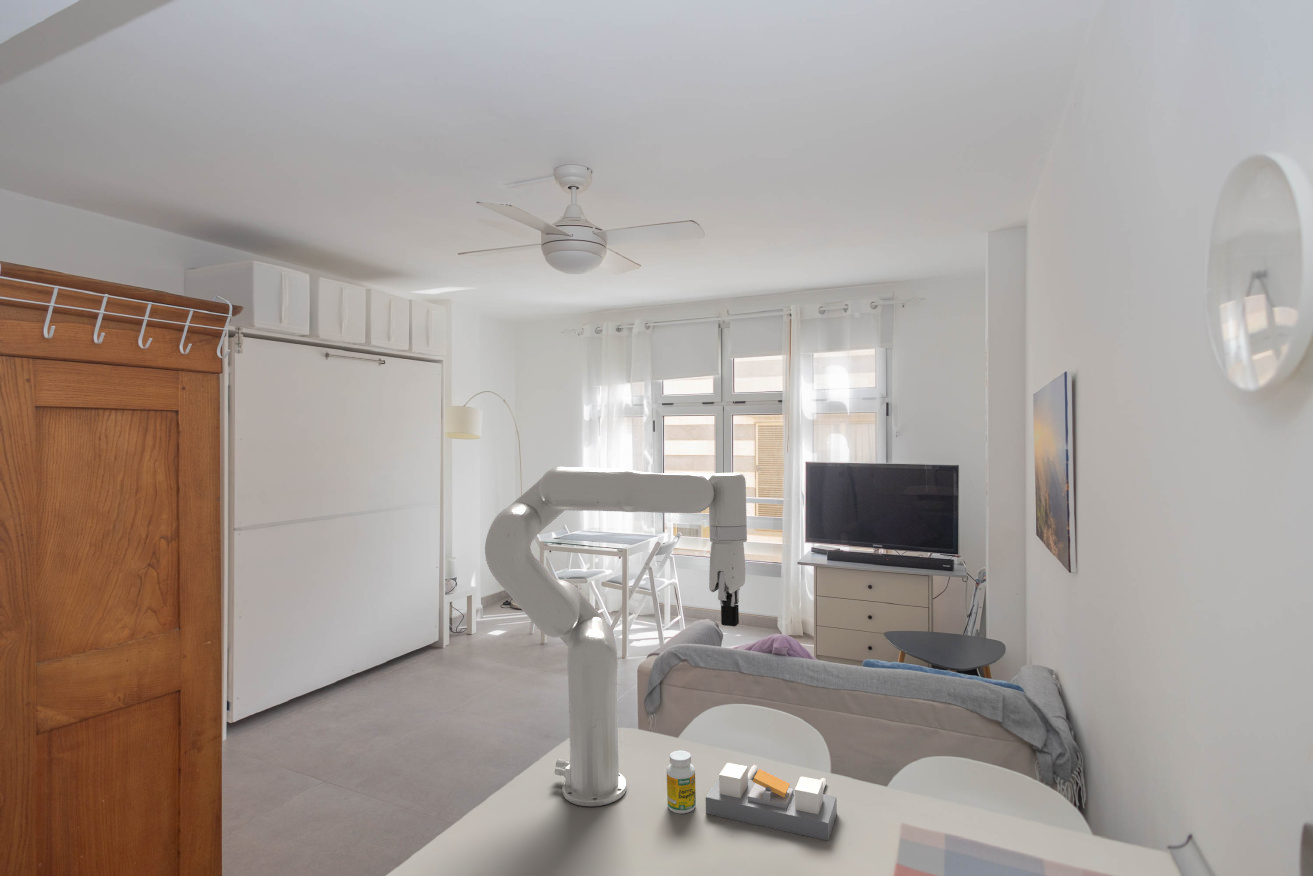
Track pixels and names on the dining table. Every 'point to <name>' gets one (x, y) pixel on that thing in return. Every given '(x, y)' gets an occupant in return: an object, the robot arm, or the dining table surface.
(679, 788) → the supplement bottle
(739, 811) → the power strip
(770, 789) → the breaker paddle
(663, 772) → the dining table surface
